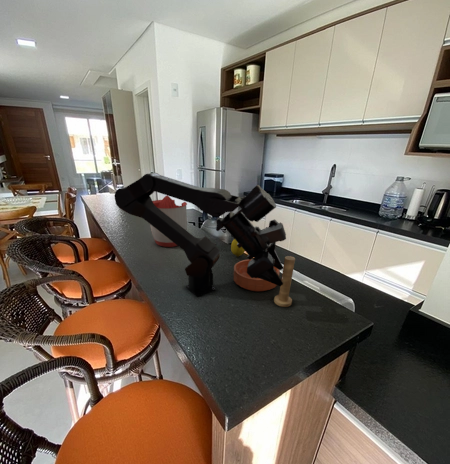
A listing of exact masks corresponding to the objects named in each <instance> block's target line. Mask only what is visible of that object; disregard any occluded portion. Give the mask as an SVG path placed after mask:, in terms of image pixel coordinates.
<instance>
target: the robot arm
mask: <svg viewBox="0 0 450 464" xmlns="http://www.w3.org/2000/svg"><path fill="white" fill-rule="evenodd" d="M154 193H158V194H162V195H165V196H169V197H170V198H174V199H177V200H180V201H183V202H186V203H190V204H191V205H194V206H195V207H197V209H199V210H200V211H202V212H204V213H205V214H207V215H209V216H211V217H214V218H217V219H216V220H215V222H216V227H215V228H216V229H215V230H216V232H219V231H220V230H222V229H223V228H225V230H226V231H227V232H228V233H229V235H230V236H231V237H232V238H233V240H234V239H235V240H236V241H237V242H238V244H237V246H238V247H239V248H240V247H242V248H243V249H244V250H245V253H246V254H247V260H251V259H252V260H251V261H249V263H248V267H247V274H248V275H249V276H250V277H251V278H260V279H263V280H266V281H268V282H271V283H273V284H276V285H277V286H278V287H280V286H282V285H283V282H282V280H281V279H282V277H280V274H279V275H278V274H277V272H276V270H275V269H274V267H276V268H277V269H279V270H280V271H283V266H284V265H283V263H282V262H281V260H280V257H279V256H278V253H277V251H276V244H277V243H278V242H283V241H286V240H287V233H286V230H285V227H284V224H283V223H282V222H279V221H278V220H276V219H272V220H269V222H268V226H266V227H265V228H262V229H261V228H260V227H259V226H257V225H255V226H254V225H253V223H252V222H256V223H258V222H259V221H261V220H262V219H264V217H266V216H267V215H268V214H270V213H271V212H272V211H274V210H275V209H276V208H277V204H276V202H275V200H274V199H273V197H272V196H271V195H270V193H267V191H265V190H264V189H263V188H262V187H261V186H260V185H259V184H257V185H256V186H254V187H253V188H252V189H251V191H250V192H248V194H246V195H245V196H244V197H241V196H237V195H233V194H231V192H230V191H229V190H227V189H224V188H217V187H216V188H215V187H200V186H196V185H193V184H190V183H188V182H184V181H181V180H177V179H175V178H170V177H168V176H164V175H162V174H159V172H151V173H145V174H144V175H143V176H141V177H140V178H138V179H137V180H135V181H134V182H132V183H130V184H129V185H127V186H123V187H119V188H118V189H116V190H115V192H114V201H115V205H116V206H117V207H118V208H119V210H121V211H123V212H125V213H127V214H129V215H131V216H133V217H137V218H141V219H143V220H144V221H146V222H147V223H148V224H149V225H150V224H151V225H152V226H153V227H155V228H156V229H157V230H158V231H160V232H161V233H162V234H163V235H165V236H166V237H167V238H169V239H170V240H171V241H172V242H174V243H175V244H176V245H177V246H176V247H178V248H180V249H181V250H182V251H183V252H184V254H185V256H186V257H187V260H188V261H189V264H188V265H187V266H186V267H185V268H184V271H185V274H186V276H188V284H186V285H185V288H186V289H187V290H188V291H190V293H192V294H193V295H194V296H195V297H200V296H203V295H205V294H208V293H211V292H214V291H215V290H216V288H215V287H214V273H213V268H214V266H215V265H216V263H218V261H219V260H220V256H221V254H220V253H221V252H220V249H219V248H218V247H217V243H216V242H214V241H211V240H210V239H209V237H207V236H206V235H203V236H202V238H198V237H195V236H194V235H193V234H191V232H189V231H188V230H185V229H184V228H183V227H181V226H180V225H179V224H178V223H176V222H175V221H174V220H172V219H171V218H170V217H169V216H167V215H166V214H165V213H164V212H162V211H161V210H160V209H159V208H157V207H156V206H155V205H154V203H153V201H154V200H153V199H152V197H151V195H153V194H154ZM238 208H239V209H238ZM237 209H238V210H237ZM235 210H237V211H236V212H234V211H235ZM226 213H227V214H226ZM225 214H226V215H225ZM223 215H225V216H224V217H221V216H223Z"/></svg>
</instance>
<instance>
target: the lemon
mask: <svg viewBox="0 0 450 464" xmlns="http://www.w3.org/2000/svg"><path fill="white" fill-rule="evenodd" d="M237 244H238V242H237V241H236V240H235V239H234V238H233V240H232V242H231V244H230V250H231V253H232V254H233V255H234V256H236V257H237V258H238V257H241V256H243V254H245V253H246V251H245V250H244V249H243V248H242V247H240V248H239V247H238V246H237Z"/></svg>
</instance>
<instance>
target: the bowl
mask: <svg viewBox="0 0 450 464" xmlns="http://www.w3.org/2000/svg"><path fill="white" fill-rule="evenodd" d="M252 259H253V258H252ZM252 259H251V260H252ZM251 260H249V259H243V260H240V261H238V262H236V263H235V264H234V266H233V274H232V275H233V276H232V279H233V282H234V283H235V284H236V285H237V286H239V287H240V288H243V289H245V290H248V291H252V292H264V291H265V292H267V291H269V290H272V289H274V288H277V286H278V285H276V284H273V283H271V282H268V281H266V280H263V279H260V278H251V277H250V276H249V275H248V274H247V267H248V263H249V261H251ZM274 269H275V270H276V272H277V274H278V275H279V276H280V272H281V270H279V269H277V268H276V267H274Z"/></svg>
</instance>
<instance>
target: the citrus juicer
mask: <svg viewBox="0 0 450 464" xmlns="http://www.w3.org/2000/svg"><path fill="white" fill-rule="evenodd" d="M152 201H153V203H154V205H155V206H156V207H157V208H159V209H160V210H161V211H162V212H164V213H165V214H166V215H167V216H169V217H170V218H171V219H172V220H174V221H175V222H176V223H178V224H179V225H180V226H181V227H183V228H184V229H185V230H186V231H188V215H187V214H188V213H187V211H188V210H187V205H188V202H186V201H183V202H181V203H180V204H181V205H177V204H176V201H175V199H172V197H171V196H168V195H165V196H164V197H163V198H162V199H154V200H152ZM149 226H150V231H151V235H152V238H153V240H154V242H155V244H156V245H158V246H161V247H166V248H173V247H178V246H177V245H176V244H175V243H174V242H172V241H171V240H170V239H169V238H167V237H166V236H165V235H163V234H162V233H161V232H160V231H158V230H157V229H156V228H155V227H153V226H152V225H151V224H149Z"/></svg>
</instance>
